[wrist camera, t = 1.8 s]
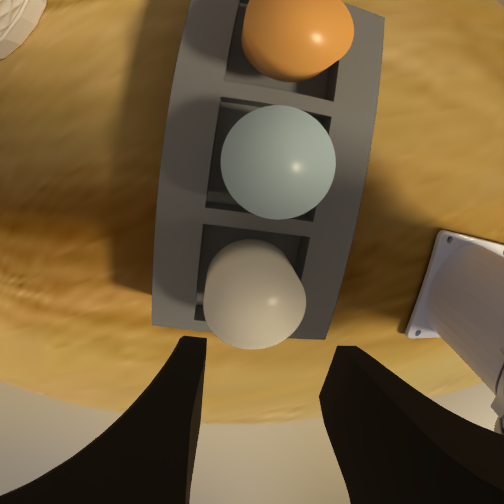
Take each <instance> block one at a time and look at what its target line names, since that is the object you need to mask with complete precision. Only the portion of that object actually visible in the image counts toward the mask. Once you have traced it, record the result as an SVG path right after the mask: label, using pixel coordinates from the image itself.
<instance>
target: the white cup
mask: <svg viewBox="0 0 504 504" xmlns="http://www.w3.org/2000/svg"><path fill="white" fill-rule="evenodd" d="M46 3H47V0H0V60H1V59H4V58H6V57H7V56H8V55H10V54H11V53H12V52H13V51H15V50H16V49H17V48H18V47H20V46H21V45H22V44H23V42H24V41H25V40H26V39H27V37H28V36H29V35H30V33H31V32H32V31H33V30H34V28H35V27H36V26H37V24H38V22H39V20H40V17H41V15H42V13H43V11H44V9H45V7H46Z"/></svg>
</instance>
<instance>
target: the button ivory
mask: <svg viewBox="0 0 504 504" xmlns="http://www.w3.org/2000/svg"><path fill="white" fill-rule="evenodd" d="M305 309H306V295H305V291H304V288H303V286H302V283H301V282H300V280H299V278H298V276H297V274H296V273H295V271H294V269H293V267H292V265H291V264H290V262H289V260H288V259H287V257H286V255H285V254H284V253H283V252H282V251H281V250H280V249H279V248H278V247H276V246H275V245H273V244H271V243H269V242H266V241H263V240H258V239H243V240H239V241H236V242H233V243H231V244H229V245H227V246H225V247H224V248H222V249H221V250H220V251H219V252H218V253H217V254H216V255H215V256H214V258H213V259H212V261H211V263H210V265H209V268H208V271H207V276H206V284H205V293H204V302H203V310H204V316H205V320H206V322H207V324H208V326H209V328H210V329H211V331H212V332H213V333H214V334H215V335H216V336H217V337H218V338H219V339H220V340H222V341H223V342H225V343H227V344H229V345H231V346H234V347H237V348H241V349H252V350H255V349H263V348H267V347H271V346H274V345H276V344H278V343H280V342H282V341H283V340H285V339H286V338H288V337H289V336H290V335H291V334H292V333H293V332H294V331H295V330H296V329H297V327H298V326H299V324H300V323H301V321H302V319H303V316H304V313H305Z"/></svg>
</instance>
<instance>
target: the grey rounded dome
mask: <svg viewBox="0 0 504 504" xmlns="http://www.w3.org/2000/svg"><path fill="white" fill-rule="evenodd" d="M335 167H336V158H335V151H334V147H333V144H332V141H331V139H330V137H329V135H328V133H327V132H326V130H325V129H324V127H323V126H322V125H321V124H320V123H319V122H318V121H317V120H316V119H315V118H314V117H312V116H311V115H309V114H308V113H306V112H304V111H302V110H300V109H297V108H294V107H290V106H284V105H272V106H265V107H262V108H258V109H256V110H254V111H251V112H250V113H248V114H246V115H245V116H244V117H242V118H241V119H240V120H239V121H238V122H237V123H236V124H235V125H234V126H233V127H232V129H231V130H230V132H229V133H228V135H227V137H226V139H225V142H224V144H223V148H222V152H221V172H222V177H223V180H224V183H225V185H226V187H227V189H228V191H229V193H230V194H231V196H232V197H233V198H234V199H235V200H236V202H237V203H238V204H240V205H241V206H242V207H243V208H244V209H246V210H247V211H249V212H251V213H253V214H255V215H257V216H260V217H263V218H267V219H276V220H281V219H289V218H294V217H297V216H300V215H302V214H304V213H306V212H308V211H309V210H311V209H312V208H314V207H315V206H316V205H317V204H318V203H319V202H320V201H321V200H322V199H323V198H324V196H325V195H326V194H327V192H328V190H329V188H330V186H331V184H332V181H333V178H334V174H335Z"/></svg>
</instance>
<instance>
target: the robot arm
mask: <svg viewBox="0 0 504 504" xmlns="http://www.w3.org/2000/svg"><path fill="white" fill-rule="evenodd" d="M448 237H449V240H448V241H447V239H448ZM417 330H418V331H417ZM416 331H417V332H416ZM405 335H406V336H407V337H408V338H436V337H441V338H442V339H443V340H444V341H445V342H446V343H447V344H448V345H449V346H450V347H451V348H452V349H453V350H454V351H455V352H456V353H457V354H458V355H459V356H460V357H461V358H462V359H463V360H464V361H465V362H466V363H467V364H468V365H469V367H470V368H471V369H472V370H473V371H474V372H475V373H476V374H477V375H478V376H479V377H480V378H481V379H482V381H483V382H484V383H485V384H486V385H487V386H488V387H489V388H490V389H491V390H492V391H493V392H494V394H495V395H496V397H495V399H494V401H493V403H492V404H491V408H492V409H493V410H494V411H495V412H496V413H497V415H498V416H499V417H498V418H497V420H496V423H495V428H494V432H493V431H491V430H488V429H486V428H483V427H481V426H478V425H476V424H474V423H472V422H470V421H468V420H466V419H464V418H462V417H460V416H458V415H456V414H454V413H452V412H451V411H449V410H447V409H445V408H444V407H442V406H440V405H439V404H437V403H436V402H434V401H432V400H431V399H429V398H428V397H426V396H425V395H423V394H422V393H420V392H419V391H417V390H416V389H415V388H413V387H412V386H410V385H409V384H408V383H406V382H405V381H403V380H402V379H401V378H399V377H398V376H397V375H395V374H394V373H393V372H391V371H390V370H389V369H387V368H386V367H385V366H383V365H382V364H381V363H379V362H378V361H377V360H375V359H374V358H373V357H371V356H370V355H369V354H367V353H366V352H364V351H363V350H361V349H360V348H358V347H357V346H337V348H336V351H335V354H334V357H333V360H332V363H331V365H330V368H329V371H328V374H327V376H326V379H325V382H324V384H323V387H322V390H321V392H320V395H319V399H320V405H321V410H322V415H323V419H324V424H325V427H326V430H327V433H328V436H329V439H330V442H331V444H332V447H333V450H334V453H335V455H336V458H337V461H338V464H339V466H340V469H341V472H342V475H343V477H344V480H345V483H346V487H347V490H348V493H349V497H350V502H351V504H504V245H503V244H499V243H495V242H491V241H488V240H484V239H480V238H475V237H471V236H467V235H463V234H459V233H454V232H450V231H446V230H441V231H439V233H438V234H437V237H436V241H435V244H434V248H433V251H432V255H431V258H430V262H429V265H428V268H427V272H426V275H425V278H424V281H423V284H422V287H421V290H420V293H419V296H418V299H417V302H416V304H415V307H414V310H413V313H412V315H411V318H410V321H409V323H408V326H407V328H406V331H405ZM206 345H207V338H200V337H191V336H183V337H182V338H180V339H179V342H178V344H177V346H176V347H175V349H174V351H173V352H172V354H171V356H170V357H169V359H168V360H167V362H166V363H165V365H164V366H163V367H162V369H161V370H160V371H159V373H158V374H157V375H156V377H155V378H154V379H153V381H152V382H151V383H150V385H149V386H148V387H147V388H146V389H145V390H144V392H143V393H142V394H141V395H140V396H139V397H138V398H137V400H136V401H135V402H134V403H133V404H132V405H131V406H130V407H129V408H128V409H127V410H126V411H125V412H124V413H123V415H122V416H121V417H119V418H118V419H117V420H116V421H115V422H114V423H113V424H112V425H111V426H110V427H109V428H108V429H107V430H105V432H103V433H102V434H101V435H100V436H99V437H97V438H96V439H95V440H93V441H92V442H91V443H90V444H88V445H87V446H86V447H85V448H83V449H82V450H81V451H79V452H78V453H77V454H75V455H74V456H73V457H71V458H70V459H68V460H67V461H65V462H63V463H62V464H60V465H59V466H57V467H55V468H54V469H52V470H51V471H49V472H47V473H46V474H44V475H42V476H41V477H39V478H37V479H35V480H34V481H32V482H30V483H28V484H26V485H24V486H22V487H19V488H17V489H15V490H13V491H10V492H8V493H6V494H3V495H1V496H0V504H189V499H190V488H191V481H192V474H193V467H194V460H195V454H196V447H197V441H198V435H199V428H200V421H201V408H202V395H203V383H204V371H205V360H206Z"/></svg>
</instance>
